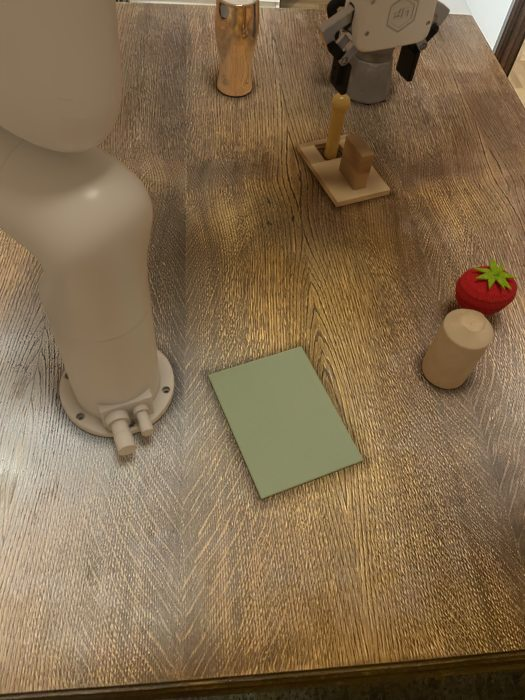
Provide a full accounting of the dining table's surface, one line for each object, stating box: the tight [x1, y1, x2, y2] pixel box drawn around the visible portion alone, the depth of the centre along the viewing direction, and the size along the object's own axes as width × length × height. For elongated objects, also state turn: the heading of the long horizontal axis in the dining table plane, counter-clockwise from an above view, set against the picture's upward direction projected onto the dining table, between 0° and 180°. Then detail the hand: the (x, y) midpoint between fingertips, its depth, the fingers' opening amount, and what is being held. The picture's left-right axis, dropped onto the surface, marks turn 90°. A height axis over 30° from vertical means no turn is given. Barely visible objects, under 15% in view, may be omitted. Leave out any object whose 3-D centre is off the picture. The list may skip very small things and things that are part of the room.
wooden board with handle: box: [296, 133, 391, 208], centre depth 90 cm, size 14×9×7 cm, turn 23°
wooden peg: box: [323, 92, 351, 160], centre depth 91 cm, size 3×3×11 cm
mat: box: [207, 345, 364, 501], centre depth 68 cm, size 16×12×1 cm
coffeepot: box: [326, 0, 397, 105], centre depth 99 cm, size 15×9×18 cm, turn 92°
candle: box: [421, 308, 494, 390], centre depth 69 cm, size 6×6×10 cm
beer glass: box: [214, 0, 261, 97], centre depth 98 cm, size 7×7×15 cm
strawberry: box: [454, 256, 518, 318], centre depth 74 cm, size 6×8×10 cm
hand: (371, 82), depth 78 cm, fingers open, 9 cm apart
